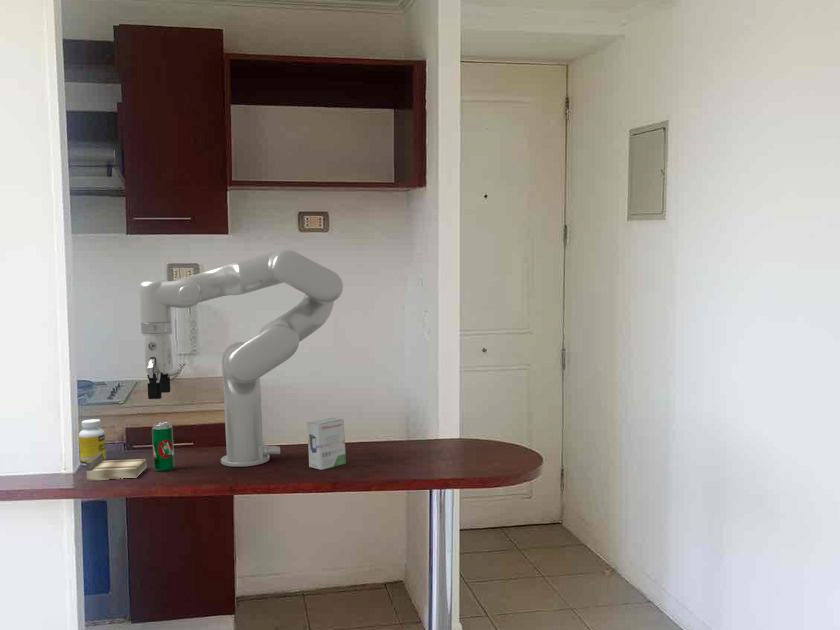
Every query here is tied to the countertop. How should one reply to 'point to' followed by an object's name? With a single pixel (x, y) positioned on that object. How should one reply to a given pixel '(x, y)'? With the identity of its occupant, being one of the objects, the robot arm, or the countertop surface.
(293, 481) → the countertop surface
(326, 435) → the ink box
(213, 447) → the countertop surface
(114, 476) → the dock
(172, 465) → the soda can
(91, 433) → the pill bottle
